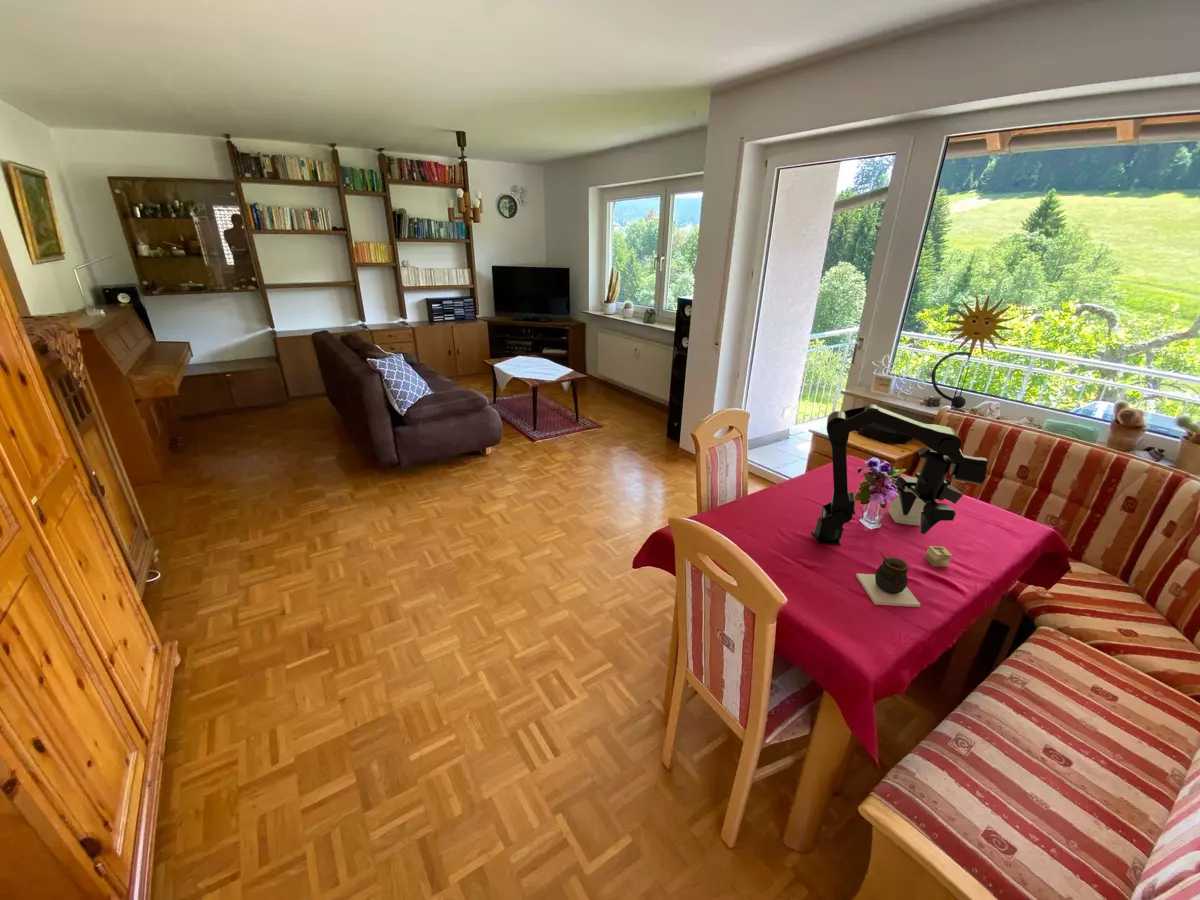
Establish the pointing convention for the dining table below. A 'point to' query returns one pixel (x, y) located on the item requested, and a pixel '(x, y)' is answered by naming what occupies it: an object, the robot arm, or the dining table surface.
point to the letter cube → (938, 556)
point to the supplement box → (912, 516)
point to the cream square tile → (883, 597)
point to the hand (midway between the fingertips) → (913, 523)
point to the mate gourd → (892, 575)
